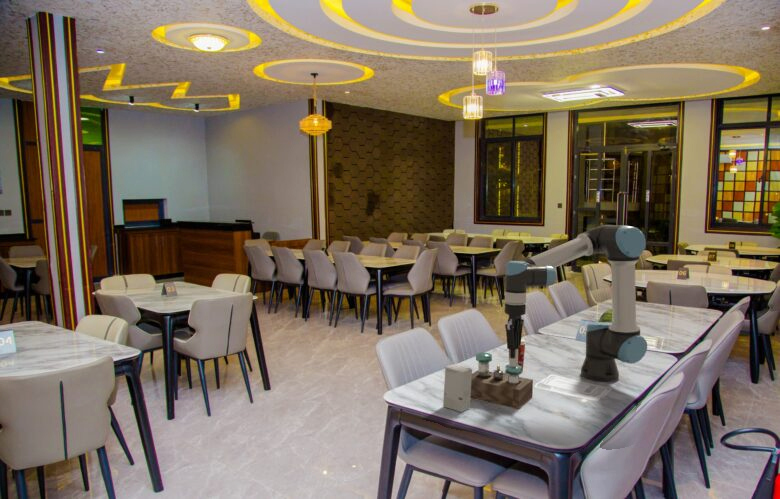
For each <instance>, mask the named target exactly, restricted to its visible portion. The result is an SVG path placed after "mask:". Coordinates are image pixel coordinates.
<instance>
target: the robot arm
mask: <svg viewBox="0 0 780 499" xmlns="http://www.w3.org/2000/svg"><path fill="white" fill-rule="evenodd" d="M646 242H647V241H646V236H645V235H644V233H643V232H642V231H641V229H639V228H638V227H635V226H630V225H622V224H621V225H613V224H602V225H599V226H596V227H594V228H591V229H589V230H586V231H584V232H582V233H579V234H578V235H577V236H576V237H575V238H574V239H572V240H569V241H567V242H565V243H562V244H560V245H558V246H554V247H553V248H550V249H548V250H546V251H543V252H541V253H538V254H536V255H534V256H531V257H529V258H526V259H524V260H509V261H507V262H506V265H505V272H504V273H505V282H504V284H505V286H504V288H505V289H504V290H505V291H504V293H503V295H504V302H505V303H504V313H505V314H506V315H508V319H507V324H506V323H505V325H504V328H505V332H506V333H505V334H506V335H505V336H506V348H507V350H509V349H510V358H509V357H508V361H509V364H508V365H509V366H512V367H517V366H518V349H521V347H519V346H520V345H521V339H522V337H523V336H522V335H523V326H524V322H525V320H524V319H522V316H524V315H526V310H527V309H526V308H527V307H526V303H527V287H528V288H529V287H548V286H553V285H554V284H555V282H556V281H557V271H556V269H555V268H557V267H560V266H562V265H565V264H566V263H569V262H572V261H574V260H576V259H578V258H580V257H583V256H587V257H590V256H592V255H595V254H606V260H607V262H608V263H609V264H610V265H611V266H610V267H611V271H610V272H611V304H612V307H611V309H612V319H613V323H610V322H599V321H598V322H596V321H595V322H590V323H588V324H587V325H586V331H585V335H586V336H585V358H584V360H583V362H582V363H583V364H582V366H581V368H580V375H581V377H583V378H585V379H587V380H590V381H591V380H592V381H596V382H604V383H605V382H607V383H608V382H616V381H618V380H620V379H619V376H620V373H619V369H618V365H617V362H616V360H617V361H620V362H622V363H626V364H631V365H632V364H637V363H638V362H640V361H641V360H642V359H643V358H644V357H645V355H646V353H647V352H648V351H647V350H648V343H647V340H646V339H645V337H643V336H642V335H641V328H640V326H639V325H638V324H637V319H636V318H637V312H636V311H637V308H636V304H637V302H636V300H637V299H636V298H637V297H636V264H637V263H638V262H639V261H640V256H641V255H643V253H644V251H645V250H646V245H647V243H646ZM636 324H637V325H636Z"/></svg>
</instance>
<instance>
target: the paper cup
mask: <svg viewBox="0 0 780 499" xmlns="http://www.w3.org/2000/svg"><path fill="white" fill-rule="evenodd" d="M526 344H527V342H526V341H525V339H524V338H521V345H520V346H519V347H521V349H518V365H520V366H522V373H523V371H524V362H525V351H526V350H525V348H526ZM509 358H510V349H508V359H509Z"/></svg>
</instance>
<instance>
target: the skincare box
mask: <svg viewBox="0 0 780 499" xmlns="http://www.w3.org/2000/svg"><path fill="white" fill-rule="evenodd" d="M472 374H473V369H472V368H470V367H466V366H463V365H459V364H455V363H452V364H450V365H446V366H445V367H444V382H443V384H444V385H443V386H444V387H443V388H444V389H443V402H442V403H443V404H442V406H443V408H447V409H450V410H454V411H456V412H459V413H463V412H465V411H467V410H469V409H471V398H470V397H471V380H472Z"/></svg>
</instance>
